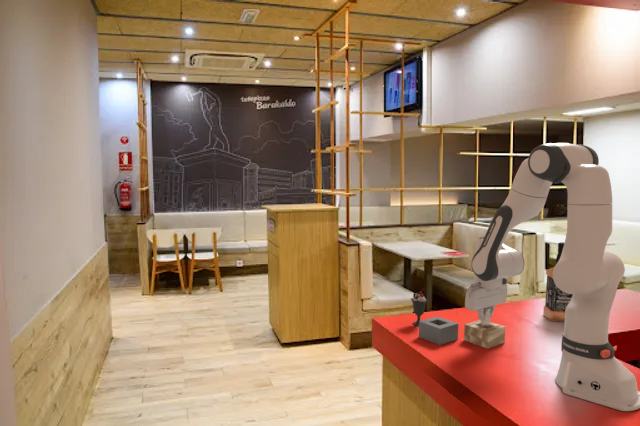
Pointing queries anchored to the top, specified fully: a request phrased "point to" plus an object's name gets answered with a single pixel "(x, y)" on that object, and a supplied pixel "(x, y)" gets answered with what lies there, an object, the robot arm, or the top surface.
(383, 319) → the top surface
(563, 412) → the top surface
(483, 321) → the pin
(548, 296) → the whiskey bottle
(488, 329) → the mount block
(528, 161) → the robot arm
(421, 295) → the sundae
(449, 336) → the dock block
